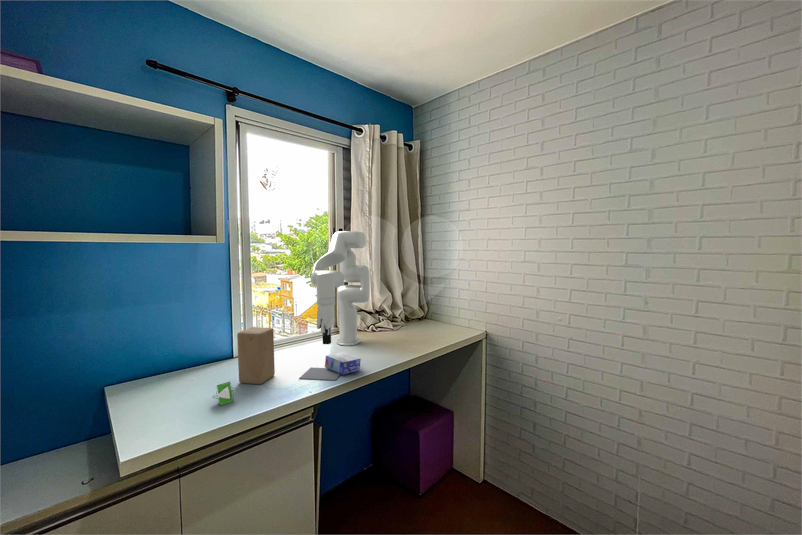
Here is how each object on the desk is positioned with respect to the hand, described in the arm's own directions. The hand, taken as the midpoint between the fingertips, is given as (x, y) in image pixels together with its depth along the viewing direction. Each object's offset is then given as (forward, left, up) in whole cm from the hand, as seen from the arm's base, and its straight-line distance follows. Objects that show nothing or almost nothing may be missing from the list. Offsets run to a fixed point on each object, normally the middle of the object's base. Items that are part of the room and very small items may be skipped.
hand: (327, 343), depth 145 cm
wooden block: (+14, -24, -11) cm, 30 cm away
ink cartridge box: (-3, +2, -8) cm, 9 cm away
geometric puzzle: (+34, -24, -11) cm, 43 cm away
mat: (+6, 0, -11) cm, 13 cm away
